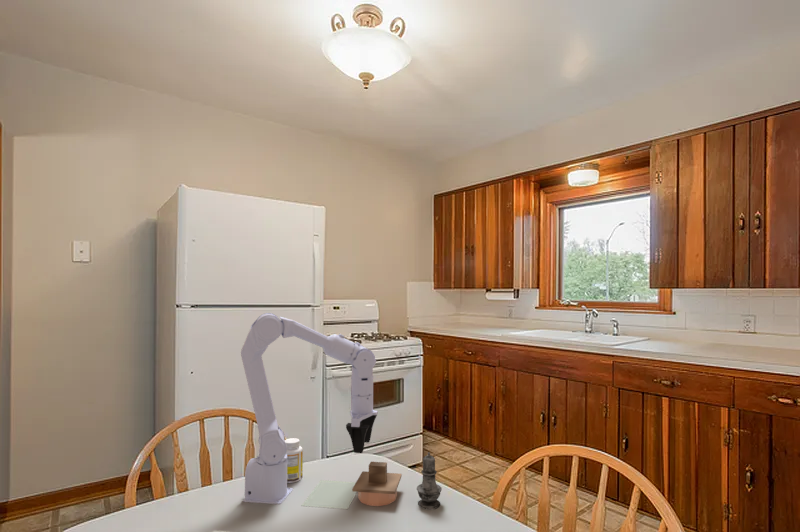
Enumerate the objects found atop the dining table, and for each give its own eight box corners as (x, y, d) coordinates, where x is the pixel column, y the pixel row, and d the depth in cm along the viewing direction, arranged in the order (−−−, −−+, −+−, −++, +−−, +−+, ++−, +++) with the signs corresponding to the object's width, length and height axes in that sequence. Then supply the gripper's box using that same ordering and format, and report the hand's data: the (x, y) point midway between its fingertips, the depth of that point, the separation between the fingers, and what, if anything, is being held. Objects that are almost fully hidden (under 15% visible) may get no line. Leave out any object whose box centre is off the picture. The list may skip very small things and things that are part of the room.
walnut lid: (352, 491, 105) (352, 471, 105) (362, 473, 115) (362, 455, 115) (395, 494, 104) (394, 473, 104) (401, 476, 113) (401, 457, 114)
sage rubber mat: (301, 507, 105) (301, 505, 105) (320, 481, 118) (320, 480, 119) (347, 510, 103) (347, 509, 103) (362, 484, 117) (362, 482, 117)
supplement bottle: (292, 473, 124) (292, 435, 124) (306, 478, 120) (307, 439, 121) (276, 481, 119) (276, 441, 119) (290, 486, 116) (291, 445, 116)
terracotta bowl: (354, 505, 105) (354, 490, 105) (363, 488, 114) (363, 474, 114) (392, 508, 104) (392, 493, 104) (399, 491, 113) (398, 476, 113)
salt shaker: (440, 511, 103) (439, 457, 103) (414, 508, 104) (414, 455, 104) (443, 499, 108) (442, 448, 109) (418, 497, 110) (418, 446, 110)
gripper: (371, 401, 110) (371, 458, 109) (382, 388, 124) (382, 438, 124) (343, 400, 111) (342, 456, 111) (357, 387, 125) (357, 437, 125)
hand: (362, 447), depth 117 cm, fingers open, 7 cm apart
